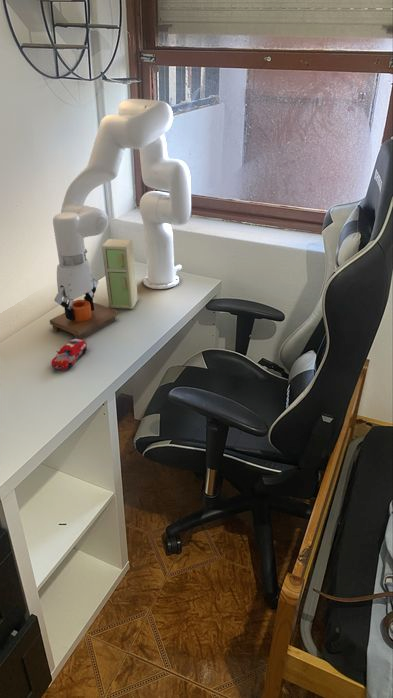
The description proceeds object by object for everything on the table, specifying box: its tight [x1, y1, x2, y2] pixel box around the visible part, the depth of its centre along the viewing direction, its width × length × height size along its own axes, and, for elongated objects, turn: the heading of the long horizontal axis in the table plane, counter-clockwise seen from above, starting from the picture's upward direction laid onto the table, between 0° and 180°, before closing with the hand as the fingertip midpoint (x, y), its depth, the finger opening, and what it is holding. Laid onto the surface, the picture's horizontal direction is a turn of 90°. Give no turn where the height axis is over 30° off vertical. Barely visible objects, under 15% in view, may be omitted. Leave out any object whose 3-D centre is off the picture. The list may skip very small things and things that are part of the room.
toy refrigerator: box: [101, 238, 139, 310], centre depth 166 cm, size 8×7×21 cm
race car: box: [50, 338, 88, 371], centre depth 142 cm, size 13×5×4 cm, turn 161°
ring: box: [71, 299, 92, 322], centre depth 156 cm, size 6×6×4 cm
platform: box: [49, 301, 118, 340], centre depth 159 cm, size 16×12×4 cm
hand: (80, 314), depth 156 cm, fingers open, 7 cm apart
